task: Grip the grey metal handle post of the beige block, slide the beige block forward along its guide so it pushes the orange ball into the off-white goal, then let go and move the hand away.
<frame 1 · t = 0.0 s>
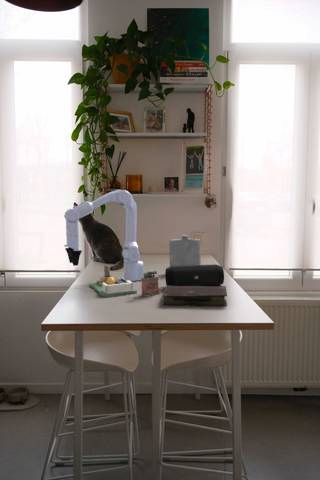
hand: (73, 264, 217), 10 cm above the table, tool pointing down, fingers open, 7 cm apart
pitch: (112, 289, 209), on the table
portable speaker: (194, 287, 211), on the table
diary: (195, 301, 188), on the table
ball: (110, 281, 211), point 3 cm above the table, touching pitch
lighter: (150, 294, 199), on the table
beige block: (107, 274, 216), point 5 cm above the table, slide at 0.0 cm
hip flask: (185, 273, 241), on the table
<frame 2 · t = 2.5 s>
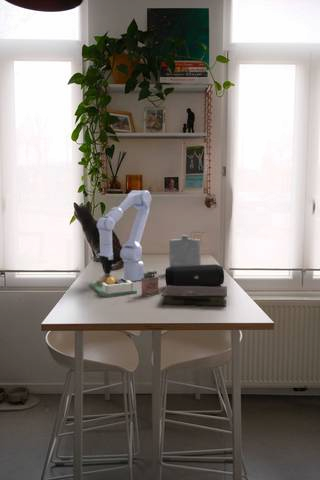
hand: (107, 272, 216), 6 cm above the table, tool pointing down, fingers closed on beige block, 2 cm apart
beige block: (107, 274, 216), point 5 cm above the table, slide at 0.0 cm, touching gripper
everything else where it was.
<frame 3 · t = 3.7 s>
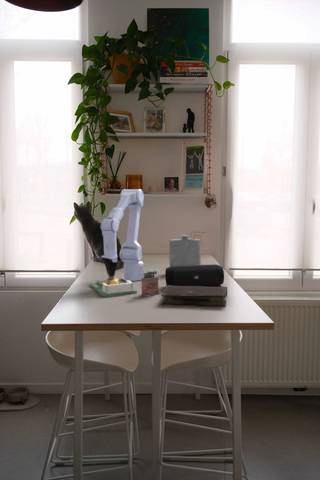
hand: (111, 275, 210), 6 cm above the table, tool pointing down, fingers closed on beige block, 2 cm apart
ball: (114, 283, 206), point 3 cm above the table, tilted 151°, touching pitch
beige block: (111, 277, 210), point 5 cm above the table, slide at 6.8 cm, touching gripper
everything else where it was.
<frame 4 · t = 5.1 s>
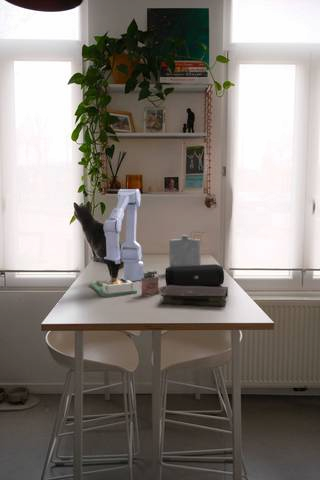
hand: (113, 277, 206), 6 cm above the table, tool pointing down, fingers closed on beige block, 2 cm apart
ball: (117, 285, 202), point 3 cm above the table, tilted 85°, touching pitch
beige block: (113, 278, 206), point 5 cm above the table, slide at 11.0 cm, touching gripper
everything else where it was.
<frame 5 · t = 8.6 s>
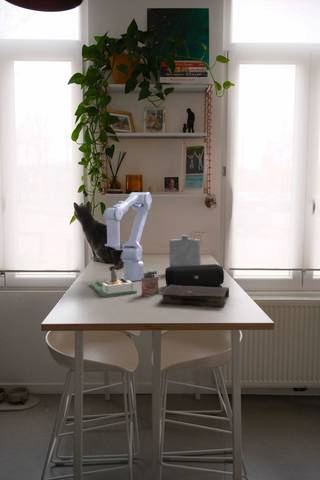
hand: (113, 263, 214), 10 cm above the table, tool pointing down, fingers open, 7 cm apart
ball: (117, 286, 202), point 3 cm above the table, tilted 67°, touching pitch
beige block: (113, 278, 206), point 5 cm above the table, slide at 11.0 cm
at the end: ball 0.2 cm from the target spot, point 3.0 cm above the table; beige block slide at 11.0 cm; the gripper is holding nothing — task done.
